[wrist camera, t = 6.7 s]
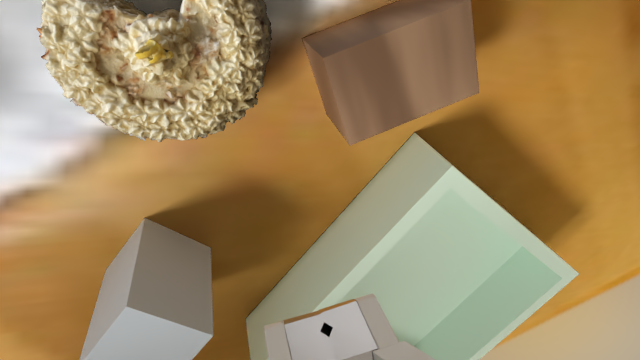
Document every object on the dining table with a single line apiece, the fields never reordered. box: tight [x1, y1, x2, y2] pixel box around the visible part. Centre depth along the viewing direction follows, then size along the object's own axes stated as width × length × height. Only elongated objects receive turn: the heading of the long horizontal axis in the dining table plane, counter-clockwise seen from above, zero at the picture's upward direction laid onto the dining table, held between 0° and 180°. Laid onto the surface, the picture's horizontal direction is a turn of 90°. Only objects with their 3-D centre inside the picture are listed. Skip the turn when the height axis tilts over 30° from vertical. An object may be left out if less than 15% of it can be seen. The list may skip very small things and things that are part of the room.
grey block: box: [80, 218, 213, 360], centre depth 23 cm, size 4×4×7 cm
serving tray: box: [246, 132, 579, 360], centre depth 30 cm, size 18×16×5 cm
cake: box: [37, 0, 272, 142], centre depth 17 cm, size 10×10×5 cm
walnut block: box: [302, 0, 479, 145], centre depth 21 cm, size 4×4×7 cm
